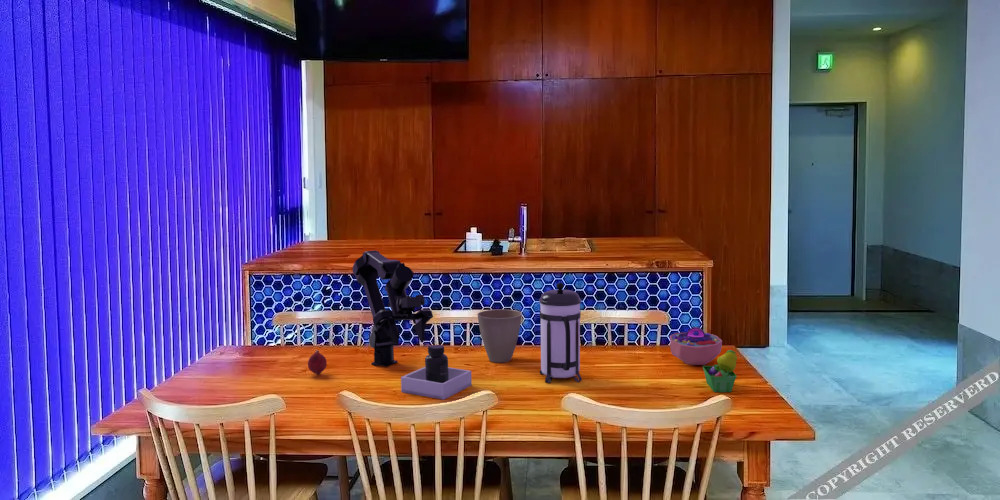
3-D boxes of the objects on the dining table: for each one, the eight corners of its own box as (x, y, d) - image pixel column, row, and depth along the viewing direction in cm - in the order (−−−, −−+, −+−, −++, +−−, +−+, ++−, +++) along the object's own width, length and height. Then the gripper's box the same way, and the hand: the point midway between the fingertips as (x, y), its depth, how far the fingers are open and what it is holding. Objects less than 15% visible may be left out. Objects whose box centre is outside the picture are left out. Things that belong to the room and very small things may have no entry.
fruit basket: (701, 381, 232) (702, 345, 230) (730, 381, 231) (731, 345, 230) (710, 393, 220) (711, 355, 219) (741, 393, 220) (742, 355, 219)
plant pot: (531, 360, 257) (530, 314, 255) (494, 368, 249) (493, 320, 247) (505, 351, 269) (505, 307, 267) (469, 358, 261) (469, 312, 259)
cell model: (663, 368, 246) (664, 334, 244) (673, 353, 264) (674, 321, 263) (718, 374, 239) (718, 338, 238) (724, 357, 258) (725, 324, 256)
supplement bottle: (446, 381, 233) (445, 342, 231) (450, 387, 226) (450, 348, 225) (423, 383, 231) (423, 344, 230) (427, 390, 225) (426, 350, 223)
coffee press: (524, 379, 236) (523, 283, 233) (556, 368, 248) (556, 276, 244) (568, 390, 225) (568, 290, 221) (600, 378, 236) (600, 282, 232)
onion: (322, 377, 241) (321, 353, 240) (305, 377, 242) (304, 352, 241) (330, 372, 247) (328, 348, 246) (313, 371, 248) (312, 347, 247)
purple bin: (430, 378, 239) (430, 364, 238) (471, 385, 231) (471, 370, 231) (401, 391, 226) (400, 377, 225) (443, 399, 218) (443, 384, 218)
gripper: (384, 284, 229) (396, 331, 222) (435, 285, 241) (448, 330, 234) (367, 301, 236) (378, 347, 230) (417, 301, 248) (430, 345, 242)
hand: (410, 342), depth 234 cm, fingers open, 9 cm apart
